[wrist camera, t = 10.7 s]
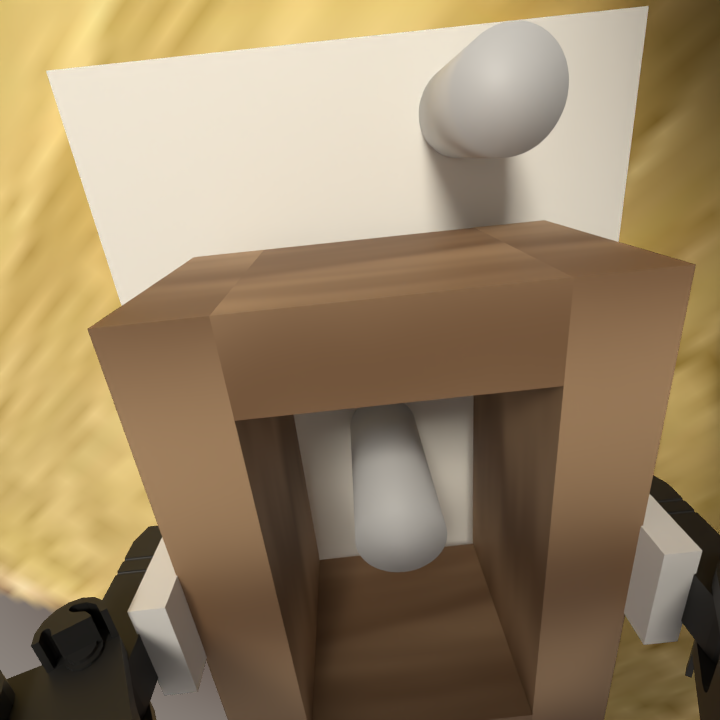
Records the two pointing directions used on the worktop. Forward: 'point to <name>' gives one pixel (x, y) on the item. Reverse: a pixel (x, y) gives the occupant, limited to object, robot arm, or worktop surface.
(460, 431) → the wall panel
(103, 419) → the worktop surface
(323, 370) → the frame
